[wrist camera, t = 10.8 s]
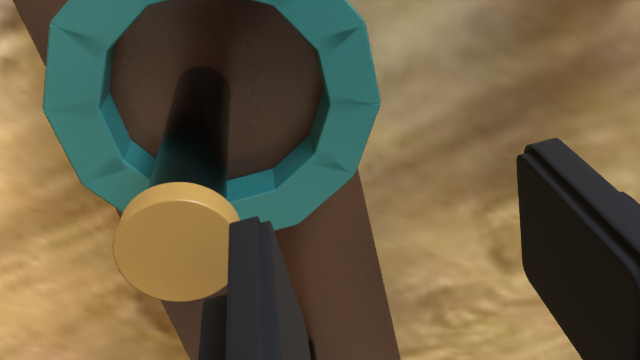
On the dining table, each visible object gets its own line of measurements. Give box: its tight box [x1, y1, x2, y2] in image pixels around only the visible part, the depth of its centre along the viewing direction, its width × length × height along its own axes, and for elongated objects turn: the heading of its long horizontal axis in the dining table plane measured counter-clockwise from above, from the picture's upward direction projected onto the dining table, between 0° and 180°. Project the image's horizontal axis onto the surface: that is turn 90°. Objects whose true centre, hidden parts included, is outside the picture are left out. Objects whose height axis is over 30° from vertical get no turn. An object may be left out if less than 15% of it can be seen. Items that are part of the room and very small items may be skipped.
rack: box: [13, 0, 401, 360], centre depth 21 cm, size 10×24×12 cm, turn 13°
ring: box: [43, 0, 381, 231], centre depth 21 cm, size 11×11×2 cm
